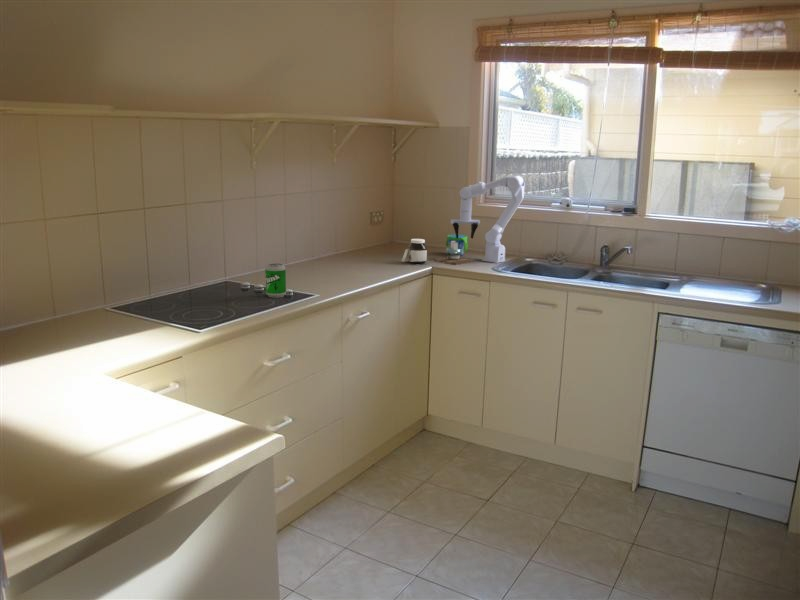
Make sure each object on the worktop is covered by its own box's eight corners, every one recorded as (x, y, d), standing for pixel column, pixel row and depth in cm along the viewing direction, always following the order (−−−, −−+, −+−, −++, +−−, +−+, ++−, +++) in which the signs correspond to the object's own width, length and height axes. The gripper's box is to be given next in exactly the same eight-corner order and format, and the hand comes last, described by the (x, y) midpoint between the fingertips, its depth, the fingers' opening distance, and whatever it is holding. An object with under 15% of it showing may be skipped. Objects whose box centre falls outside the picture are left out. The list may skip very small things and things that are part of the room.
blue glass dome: (444, 252, 347) (444, 240, 346) (460, 252, 348) (460, 240, 347) (447, 255, 339) (448, 243, 337) (463, 255, 340) (464, 243, 338)
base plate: (473, 261, 345) (473, 254, 344) (455, 264, 335) (456, 257, 334) (451, 257, 354) (451, 251, 353) (433, 261, 344) (434, 254, 343)
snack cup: (473, 256, 359) (474, 237, 357) (456, 258, 354) (456, 238, 352) (457, 252, 372) (457, 233, 370) (440, 253, 367) (440, 234, 365)
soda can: (277, 292, 269) (276, 262, 266) (290, 295, 264) (289, 264, 261) (261, 295, 263) (261, 264, 260) (274, 299, 258) (274, 267, 256)
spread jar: (428, 264, 334) (429, 240, 332) (407, 265, 330) (407, 241, 328) (418, 260, 345) (419, 237, 342) (397, 261, 341) (398, 238, 338)
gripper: (453, 211, 344) (451, 239, 347) (481, 212, 345) (480, 239, 348) (450, 210, 350) (449, 236, 354) (478, 210, 352) (477, 237, 355)
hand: (464, 238), depth 351 cm, fingers open, 7 cm apart
